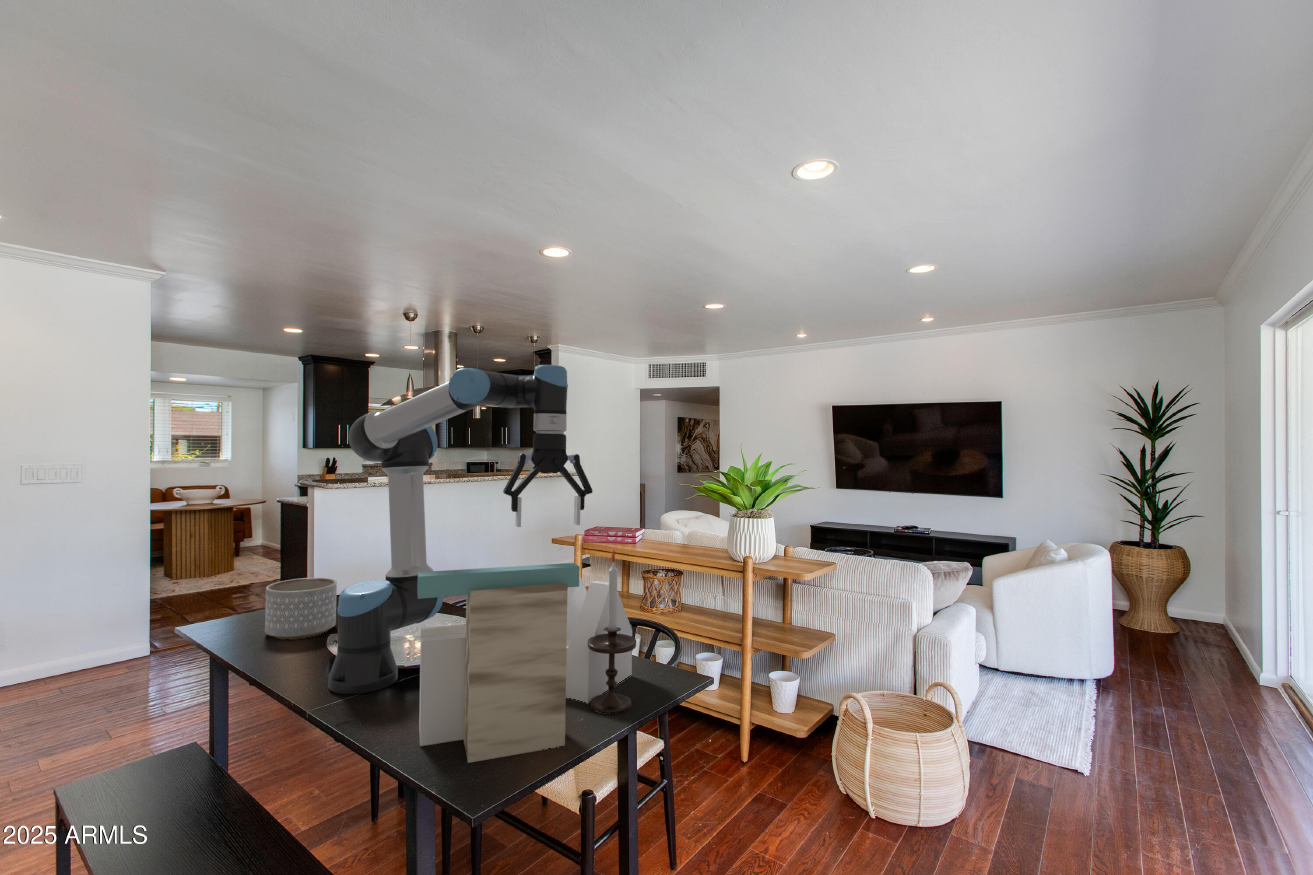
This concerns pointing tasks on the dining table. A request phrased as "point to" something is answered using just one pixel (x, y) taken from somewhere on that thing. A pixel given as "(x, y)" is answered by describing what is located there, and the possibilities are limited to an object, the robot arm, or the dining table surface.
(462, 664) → the white lidded box
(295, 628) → the planter
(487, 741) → the stand
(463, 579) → the bar
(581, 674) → the white slotted block
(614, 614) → the candlestick
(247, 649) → the dining table surface
